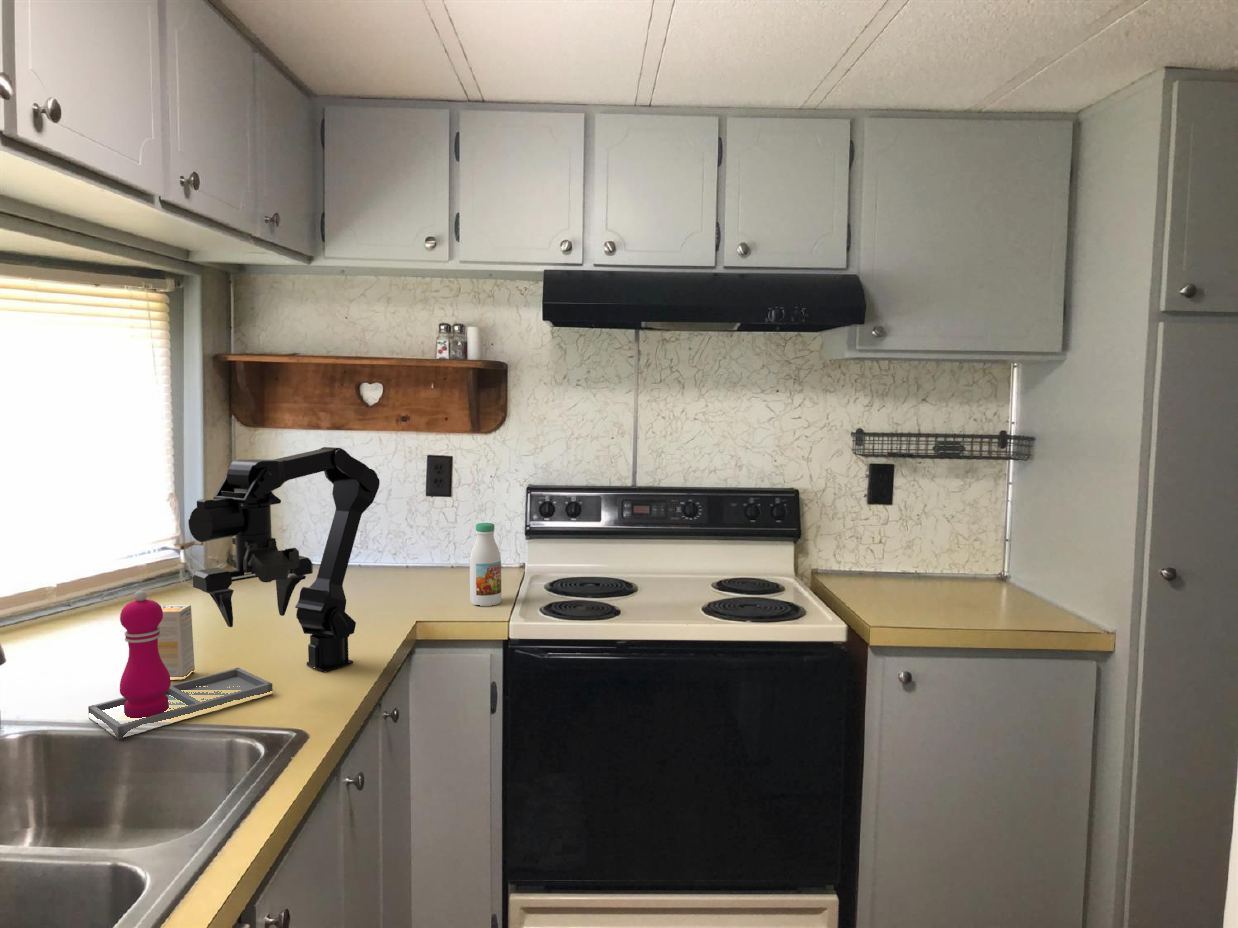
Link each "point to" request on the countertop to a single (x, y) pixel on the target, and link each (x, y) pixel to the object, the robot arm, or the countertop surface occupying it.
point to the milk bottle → (485, 568)
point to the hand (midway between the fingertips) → (256, 621)
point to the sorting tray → (216, 681)
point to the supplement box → (176, 640)
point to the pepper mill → (143, 659)
